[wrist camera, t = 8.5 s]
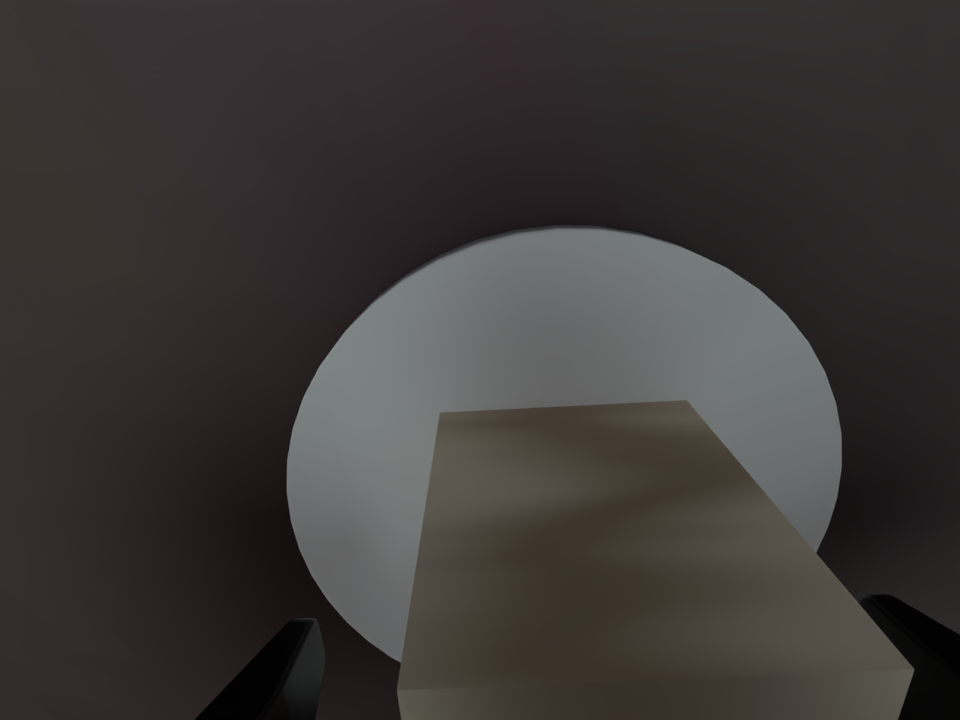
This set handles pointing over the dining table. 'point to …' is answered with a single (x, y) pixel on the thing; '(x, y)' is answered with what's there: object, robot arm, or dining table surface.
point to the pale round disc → (541, 389)
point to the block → (624, 581)
